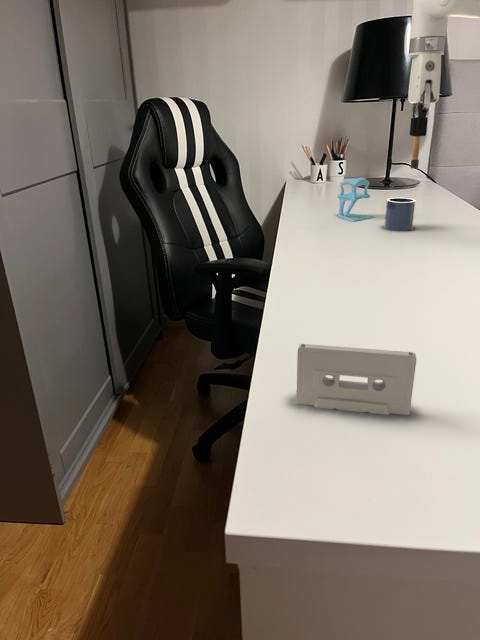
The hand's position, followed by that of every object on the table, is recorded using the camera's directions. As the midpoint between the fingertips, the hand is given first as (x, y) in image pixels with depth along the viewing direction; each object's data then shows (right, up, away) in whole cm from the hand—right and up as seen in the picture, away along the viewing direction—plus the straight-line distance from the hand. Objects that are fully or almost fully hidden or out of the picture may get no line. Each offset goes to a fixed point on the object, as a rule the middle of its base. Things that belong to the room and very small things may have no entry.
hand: (417, 135), depth 119 cm
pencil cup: (-1, -21, +12) cm, 24 cm away
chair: (-10, -15, +27) cm, 32 cm away
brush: (0, -7, +3) cm, 8 cm away
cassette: (-30, -54, -65) cm, 89 cm away
